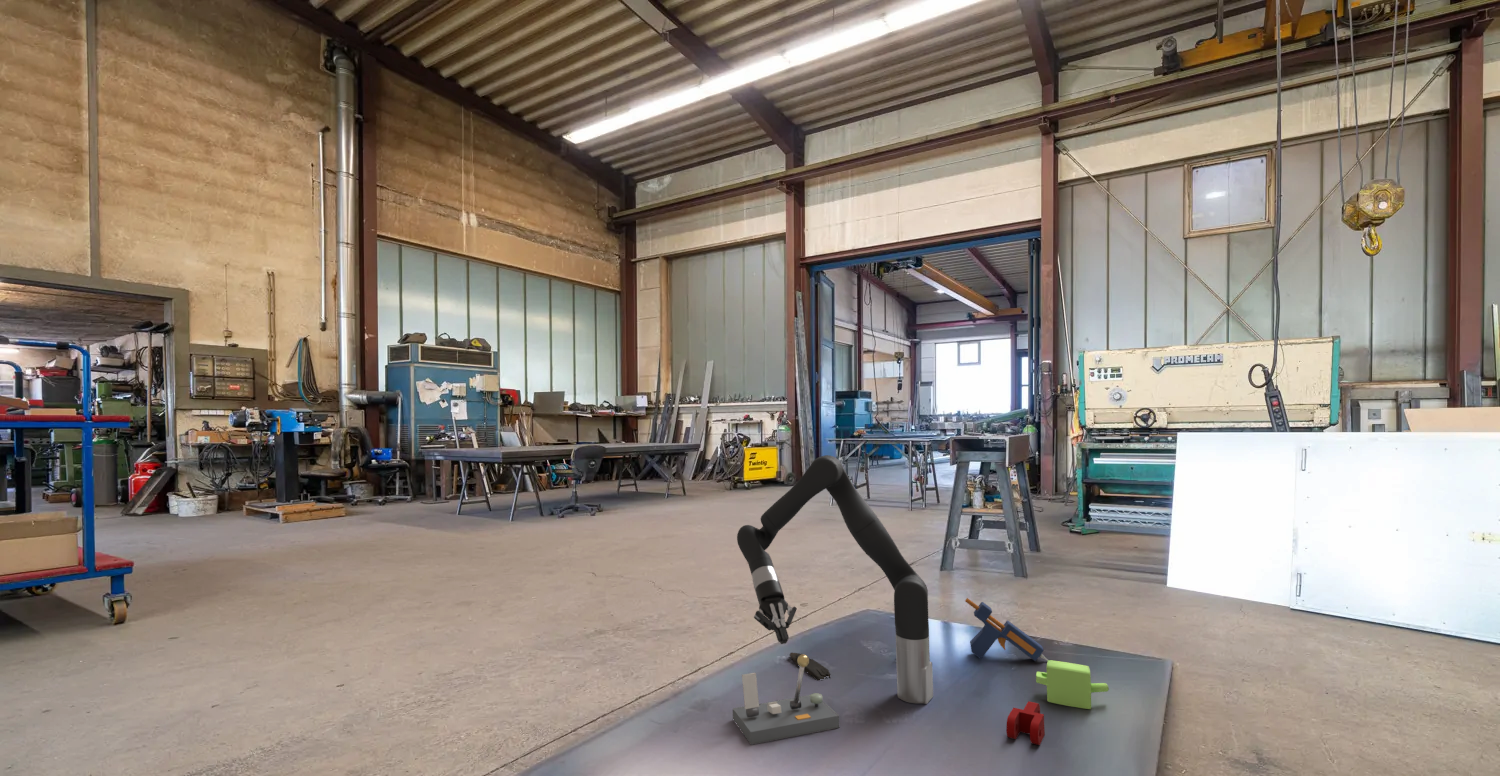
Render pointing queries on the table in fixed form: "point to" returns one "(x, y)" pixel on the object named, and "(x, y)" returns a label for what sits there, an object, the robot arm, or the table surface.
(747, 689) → the pale grey paddle
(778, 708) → the white rocker switch
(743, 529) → the robot arm
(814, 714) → the control panel
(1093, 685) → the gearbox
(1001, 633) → the glue gun
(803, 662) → the brass lever
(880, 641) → the table surface
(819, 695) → the push button
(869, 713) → the table surface
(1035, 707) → the mechanical linkage
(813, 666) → the wood
